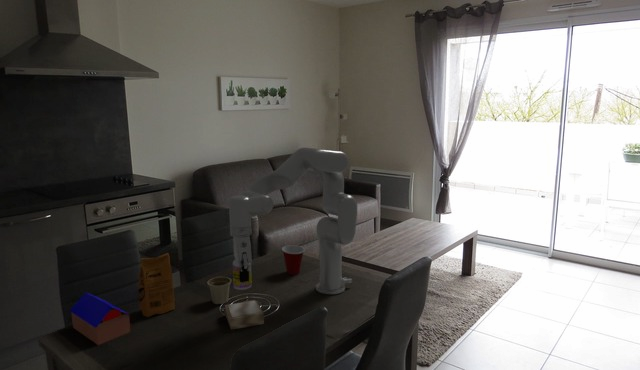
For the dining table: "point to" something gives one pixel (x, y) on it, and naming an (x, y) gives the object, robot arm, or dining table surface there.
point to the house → (99, 319)
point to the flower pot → (219, 289)
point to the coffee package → (156, 286)
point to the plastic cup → (293, 258)
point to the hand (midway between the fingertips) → (242, 277)
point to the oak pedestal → (244, 314)
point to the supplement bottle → (236, 276)
